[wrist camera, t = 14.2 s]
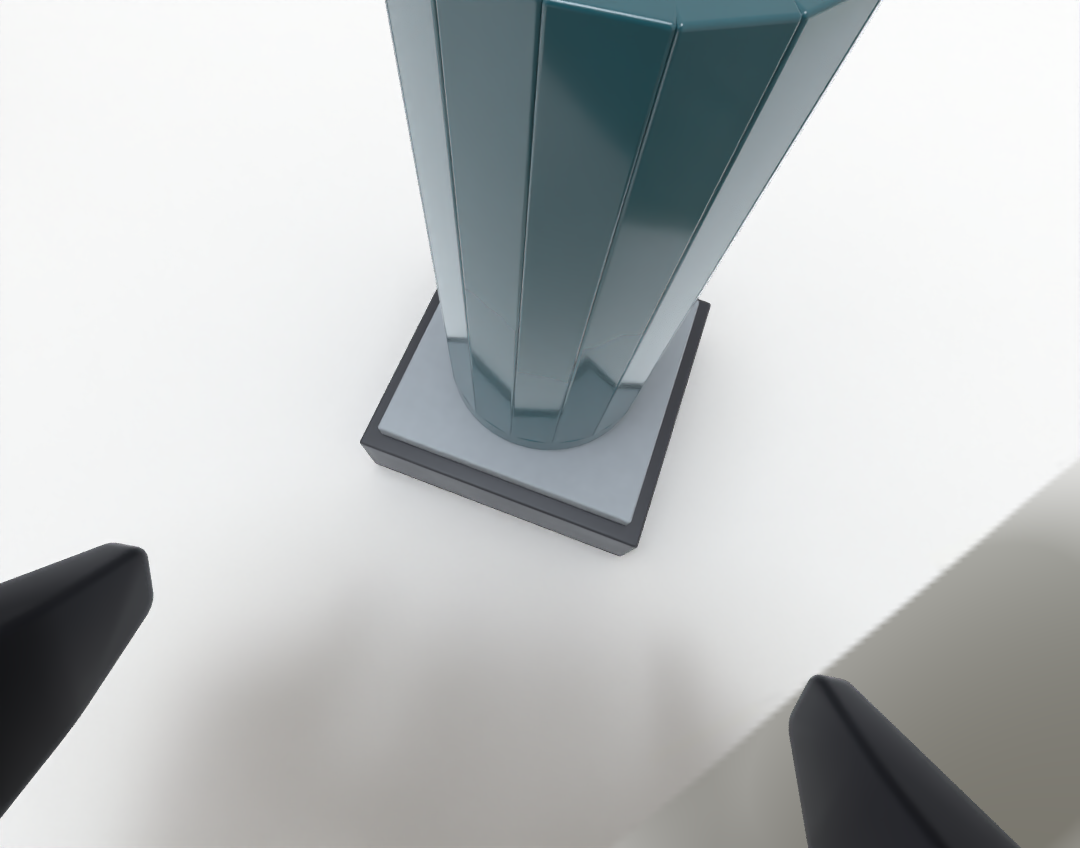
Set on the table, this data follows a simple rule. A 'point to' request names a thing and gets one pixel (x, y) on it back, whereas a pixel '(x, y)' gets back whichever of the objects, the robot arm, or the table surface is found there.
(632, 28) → the tumbler
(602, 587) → the table surface
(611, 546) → the scale
